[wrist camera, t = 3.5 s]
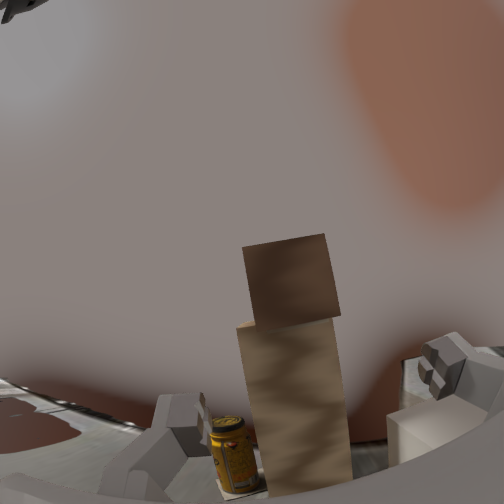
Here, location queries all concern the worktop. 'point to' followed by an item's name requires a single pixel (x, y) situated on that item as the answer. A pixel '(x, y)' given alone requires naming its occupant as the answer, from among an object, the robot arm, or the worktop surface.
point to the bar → (291, 283)
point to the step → (429, 426)
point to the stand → (297, 406)
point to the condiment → (235, 459)
